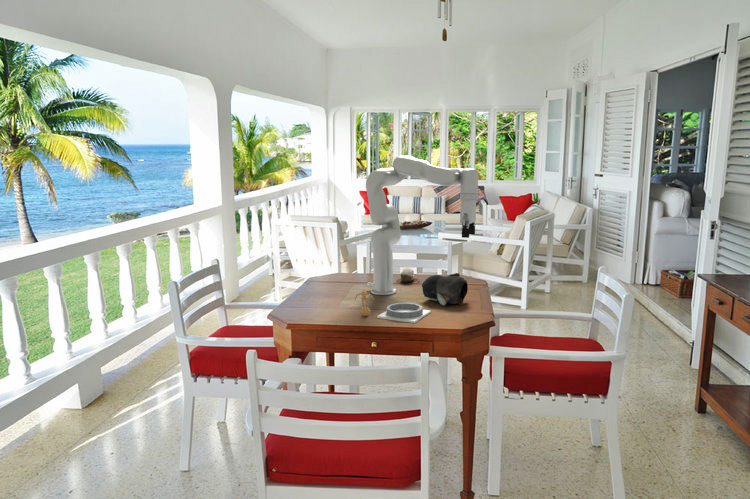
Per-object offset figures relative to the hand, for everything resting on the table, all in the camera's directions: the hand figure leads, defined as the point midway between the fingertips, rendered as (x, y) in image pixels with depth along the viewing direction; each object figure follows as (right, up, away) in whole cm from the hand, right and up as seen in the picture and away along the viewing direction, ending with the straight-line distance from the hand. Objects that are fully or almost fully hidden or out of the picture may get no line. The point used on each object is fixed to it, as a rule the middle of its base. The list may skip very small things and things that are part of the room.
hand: (468, 235), depth 252 cm
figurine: (-45, -34, -13) cm, 58 cm away
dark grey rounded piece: (-9, -30, +8) cm, 32 cm away
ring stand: (-29, -34, -12) cm, 46 cm away
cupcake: (-24, -23, +49) cm, 59 cm away
